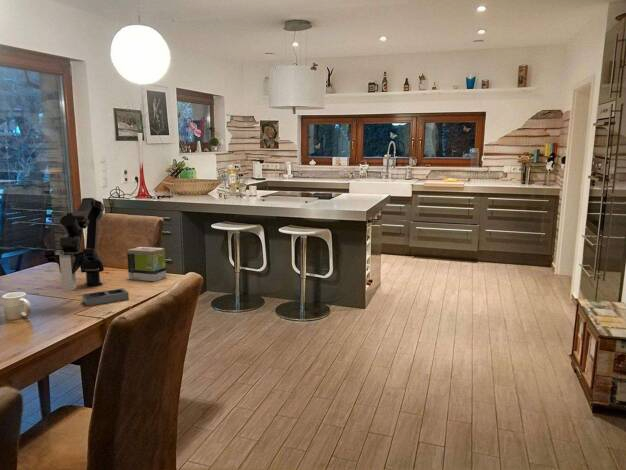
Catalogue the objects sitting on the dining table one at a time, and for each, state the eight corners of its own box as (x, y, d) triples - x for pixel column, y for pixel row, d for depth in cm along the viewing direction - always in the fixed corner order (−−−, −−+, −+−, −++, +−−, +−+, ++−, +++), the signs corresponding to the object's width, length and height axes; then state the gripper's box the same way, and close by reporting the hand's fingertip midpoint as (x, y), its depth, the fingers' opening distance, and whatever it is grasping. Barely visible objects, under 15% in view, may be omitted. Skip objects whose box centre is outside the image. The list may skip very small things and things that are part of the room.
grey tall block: (65, 287, 192) (62, 253, 189) (76, 287, 192) (73, 253, 190) (62, 290, 188) (59, 255, 186) (73, 290, 189) (70, 255, 186)
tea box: (166, 277, 237) (165, 247, 235) (153, 282, 228) (152, 251, 225) (141, 274, 242) (140, 245, 240) (127, 279, 232) (126, 249, 230)
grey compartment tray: (82, 301, 196) (82, 294, 196) (123, 295, 206) (122, 288, 205) (87, 306, 190) (86, 299, 190) (128, 299, 200) (128, 292, 199)
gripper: (42, 229, 189) (34, 263, 180) (93, 228, 192) (87, 261, 183) (51, 245, 198) (43, 278, 189) (99, 244, 201) (94, 276, 192)
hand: (67, 273), depth 188 cm, fingers closed on grey tall block, 4 cm apart
